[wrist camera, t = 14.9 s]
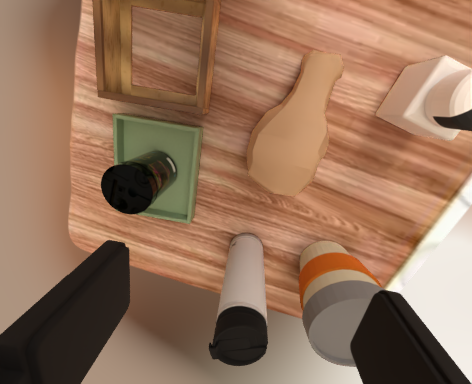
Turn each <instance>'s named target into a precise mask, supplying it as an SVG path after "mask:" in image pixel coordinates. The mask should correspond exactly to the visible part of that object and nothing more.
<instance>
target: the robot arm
mask: <svg viewBox="0 0 472 384" xmlns="http://www.w3.org/2000/svg"><path fill="white" fill-rule="evenodd" d="M129 274H130V269H129V248H128V247H126V246H125V243H123V242H117V241H112V240H107V241H106V242H105V243H104V244H102V245H101V246H100V247H99V248H98V249H97V250H96V251H95V252H93V253H92V255H90V256H89V257H88V258H87V259H86V260H85V261H83V262H82V263H81V264H80V265H79V266H78V267H77V268H76V269H75V270H74V271H72V272H71V273H70V274H69V275H67V276H66V277H65V278H63V279H62V280H61V281H60V282H59V283H58V284H57V285H56V286H55V287H53V288H52V289H51V290H50V291H49V292H48V293H47V294H46V295H44V297H42V298H41V299H40V300H39V301H38V302H37V303H36V304H34V305H33V306H32V307H31V308H30V309H29V310H28V311H26V312H25V313H24V314H23V315H22V316H21V317H20V318H19V319H17V320H16V321H15V322H14V323H13V324H12V325H11V326H10V327H8V328H7V329H6V330H5V331H4V332H3V333H2V334H1V335H0V384H81V382H82V380H83V379H84V377H85V376H86V374H87V373H88V371H89V369H90V368H91V366H92V365H93V363H94V362H95V360H96V358H97V357H98V355H99V353H100V352H101V350H102V349H103V347H104V346H105V344H106V343H107V341H108V339H109V338H110V336H111V335H112V333H113V331H114V330H115V328H116V327H117V325H118V324H119V322H120V320H121V319H122V317H123V315H124V314H125V313H126V311H127V309H128V306H129V303H130V275H129ZM350 350H351V354H352V357H353V359H354V362H355V364H356V367H357V369H358V371H359V374H360V377H361V379H362V382H363V384H471V383H470V381H469V380H468V379H467V378H466V377H465V375H464V374H463V373H462V371H461V370H460V369H459V367H458V366H457V365H456V364H455V362H454V361H453V360H452V359H451V357H450V356H449V355H448V353H447V352H446V351H445V350H444V348H443V347H442V346H441V345H440V343H439V342H438V341H437V339H436V338H435V337H434V336H433V334H432V333H431V332H430V330H429V329H428V328H427V327H426V325H425V324H424V323H423V322H422V320H421V319H420V318H419V316H418V315H417V314H416V313H415V311H414V310H413V309H412V308H411V306H410V305H409V304H408V303H407V301H406V300H405V299H404V298H403V297H402V295H401V294H399V293H397V292H392V291H386V290H380V291H379V292H378V293H375V294H374V295H373V297H372V299H371V301H370V303H369V305H368V307H367V310H366V312H365V314H364V316H363V318H362V320H361V322H360V324H359V326H358V328H357V330H356V332H355V334H354V336H353V338H352V340H351V343H350Z"/></svg>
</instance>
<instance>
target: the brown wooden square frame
mask: <svg viewBox="0 0 472 384" xmlns="http://www.w3.org/2000/svg"><path fill="white" fill-rule="evenodd" d="M92 2H93V20H94V39H95V57H96V76H97V90H98V97H100V98H106V99H112V100H118V101H124V102H130V103H135V104H141V105H147V106H153V107H159V108H165V109H170V110H176V111H182V112H188V113H194V114H200V115H203V114H206V113H209V105H210V96H211V87H212V78H213V69H214V60H215V51H216V42H217V32H218V23H219V14H220V5H221V0H92ZM132 6H135V7H141V8H147V9H154V10H160V11H166V12H172V13H178V14H184V15H190V16H196V17H202V30H201V41H200V52H199V64H198V75H197V86H196V96H194V95H188V94H182V93H177V92H171V91H165V90H159V89H153V88H147V87H141V86H135V85H132Z"/></svg>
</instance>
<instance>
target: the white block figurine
mask: <svg viewBox="0 0 472 384" xmlns="http://www.w3.org/2000/svg"><path fill="white" fill-rule="evenodd" d="M375 115H376V116H377V117H379V118H381V119H383V120H385V121H387V122H389V123H391V124H393V125H395V126H397V127H399V128H401V129H403V130H405V131H407V132H409V133H411V134H413V135H418V136H424V137H430V138H436V139H441V140H447V141H451V140H453V139H454V138H455V137H456V135H457V134H458V133H459V131H460V130H468V131H472V68H469V67H467V66H465V65H463V64H461V63H460V62H458V61H456V60H454V59H452V58H450V57H448V56H441V57H438V58H434V59H430V60H427V61H423V62H419V63H416V64H412V65H409V66H406V67H405V68H404V70H403V71H402V73H401V74H400V76H399V77H398V79H397V81H396V82H395V84H394V85H393V87H392V88H391V90H390V91H389V93H388V95H387V96H386V98H385V99H384V101H383V102H382V104H381V105H380V107H379V109H378V110H377V112H376V114H375Z"/></svg>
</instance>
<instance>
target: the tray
mask: <svg viewBox="0 0 472 384" xmlns="http://www.w3.org/2000/svg"><path fill="white" fill-rule="evenodd" d="M202 135H203V127H200V126H194V125H188V124H182V123H176V122H171V121H165V120H159V119H153V118H147V117H141V116H136V115H130V114H124V113H117V114H113V141H114V166H115V165H117V164H119V163H121V162H125V161H127V160H130V159H132V158H135V157H137V156H140V155H142V154H145V153H147V152H150V151H160V152H163V153H165V154H167V155H168V156H170V157H171V158H172V160H173V161H174V163H175V165H176V168H177V178H176V180H175V182H174V183H173V185H172V186H170V187H169V188H168V189H167V190H166V191H165V192H164V193H163V194H162V195H161V196H160V197H159V198H158V199H156V200H155V201H154V203H153V204H152V205H151V206H149V207H148V208H147V209H146V210H145V211H143V212H141V213H138V214H137V215H143V216H148V217H154V218H160V219H165V220H171V221H176V222H182V223H187V224H190V223H191V221H192V220H193V218H194V212H195V203H196V193H197V183H198V174H199V164H200V155H201V145H202ZM116 211H118V210H116Z"/></svg>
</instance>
